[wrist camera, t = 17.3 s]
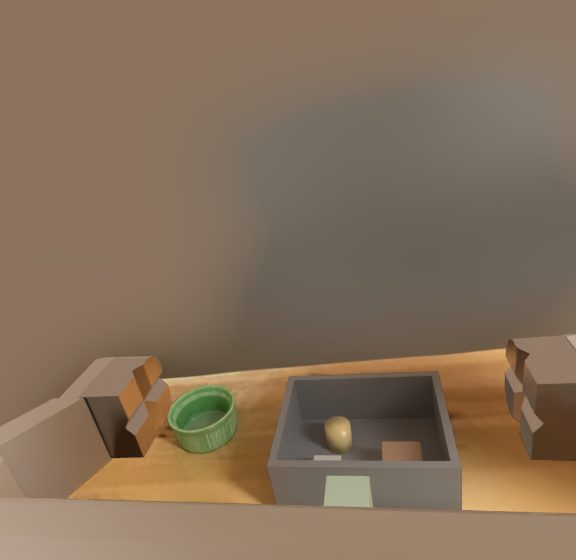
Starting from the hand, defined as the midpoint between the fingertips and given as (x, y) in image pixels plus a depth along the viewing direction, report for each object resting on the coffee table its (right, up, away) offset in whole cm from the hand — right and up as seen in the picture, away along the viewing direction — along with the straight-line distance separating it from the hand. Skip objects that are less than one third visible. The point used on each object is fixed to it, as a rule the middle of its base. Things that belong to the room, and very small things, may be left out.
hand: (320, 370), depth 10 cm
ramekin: (-11, -19, +48) cm, 53 cm away
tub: (+8, -19, +39) cm, 44 cm away
